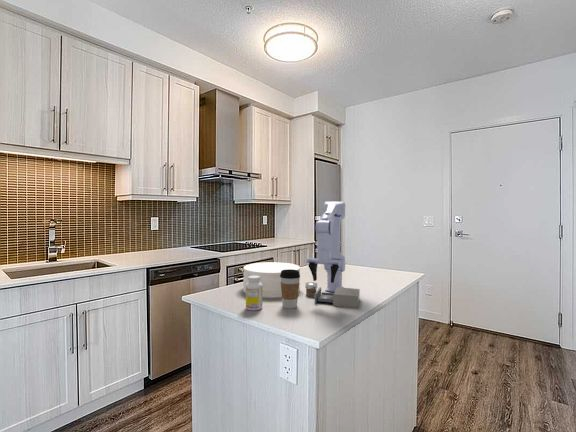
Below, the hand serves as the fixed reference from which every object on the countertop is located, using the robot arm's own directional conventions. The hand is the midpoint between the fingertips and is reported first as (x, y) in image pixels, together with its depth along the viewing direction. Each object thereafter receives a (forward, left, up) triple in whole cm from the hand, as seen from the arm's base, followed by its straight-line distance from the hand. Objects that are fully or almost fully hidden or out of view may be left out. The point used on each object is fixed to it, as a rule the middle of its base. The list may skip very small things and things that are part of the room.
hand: (323, 281), depth 130 cm
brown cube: (-13, -8, -10) cm, 18 cm away
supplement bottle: (+13, -26, -10) cm, 31 cm away
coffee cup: (+6, -13, -10) cm, 17 cm away
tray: (-7, +1, -10) cm, 12 cm away
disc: (-13, -8, -7) cm, 17 cm away
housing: (-7, +9, -10) cm, 15 cm away
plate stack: (-17, -29, -10) cm, 35 cm away
